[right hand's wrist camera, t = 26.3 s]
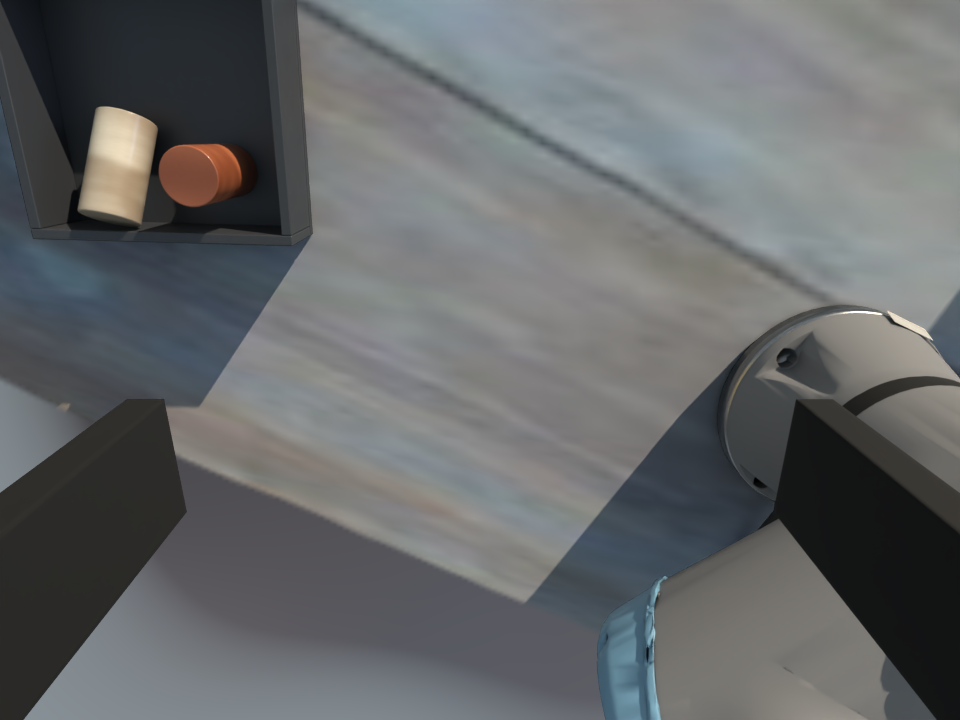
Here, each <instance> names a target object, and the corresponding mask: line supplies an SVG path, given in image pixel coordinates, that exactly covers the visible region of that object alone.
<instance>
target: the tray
mask: <svg viewBox="0 0 960 720" xmlns="http://www.w3.org/2000/svg"><path fill="white" fill-rule="evenodd" d="M0 99H1V103H2V107H3V112H4V116H5V120H6V125H7V129H8V133H9V137H10V142H11V146H12V150H13V155H14V159H15V163H16V167H17V172H18V176H19V180H20V185H21V189H22V193H23V198H24V202H25V206H26V210H27V215H28V219H29V223H30V227H31V228H32V229H31V232H32V236H33V239H55V240H92V241H129V242H165V243H202V244H239V245H276V246H293V245H294V244H296V243H298V242H300V241H301V240H303V239H305V238H306V237H308V236H310V235H312V234H313V232H312V217H311V203H310V189H309V175H308V160H307V146H306V132H305V118H304V103H303V89H302V75H301V60H300V46H299V32H298V18H297V3H296V0H0ZM98 107H113V108H119V109H123V110H126V111H129V112H132V113H135V114H137V115H140V116H142V117H144V118H146V119H148V120H150V121H151V122H153V123H154V124H155V125H156V126H157V128H158V133H157V138H156V144H155V150H154V156H153V161H152V167H151V173H150V179H149V184H148V190H147V196H146V201H145V207H144V213H143V219H142V224H141V226H140V227H128V226H121V225H116V224H111V223H107V222H103V221H99V220H96V219H93V218H90V217H87V216H85V215H82V214H81V213H79V212H78V204H79V198H80V193H81V187H82V182H83V176H84V171H85V165H86V159H87V154H88V148H89V143H90V137H91V132H92V126H93V120H94V115H95V110H96V108H98ZM195 144H234V145H237V146H239V147H241V148H243V149H244V150H246V151H247V152H248V153H249V154H250V155H251V157H252V158H253V160H254V162H255V165H256V168H257V181H256V184H255V186H254V187H253V189H252V190H251V191H250V192H249V193H248V194H246V195H244V196H241V197H237V198H233V199H229V200H225V201H221V202H217V203H212V204H208V205H204V206H200V207H187V206H184V205H181V204H179V203H178V202H176V201H174V200H173V199H172V198H171V197H170V196H169V195H168V194H167V193H166V191H165V190H164V188H163V187H162V184H161V182H160V178H159V164H160V161H161V158H162V157H163V155H164V154H165V153H166V152H167V151H168V150H169V149H171V148H172V147H175V146H178V145H195Z"/></svg>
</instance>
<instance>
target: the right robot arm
mask: <svg viewBox="0 0 960 720" xmlns="http://www.w3.org/2000/svg"><path fill="white" fill-rule="evenodd" d="M888 313H889V314H890V315H888V314H886V313H884V312H881V311H878V310H875V309H871V308H867V307H862V306H852V305H838V306H828V307H822V308H817V309H813V310H810V311H807V312H804V313H801V314H798V315H796V316H793V317H791V318H789V319H787V320H785V321H783V322H781V323H779V324H778V325H776V326H775V327H773V328H771V329H770V330H769V331H767V332H766V333H765V334H763V335H762V336H761V337H760V338H758V339H757V340H756V341H755V342H754V343H753V344H752V345H751V346H750V347H749V348H748V349H747V350H746V351H745V352H744V354H743V355H742V356H741V357H740V359H739V360H738V361H737V363H736V364H735V366H734V367H733V369H732V370H731V372H730V374H729V376H728V378H727V380H726V382H725V385H724V387H723V390H722V393H721V396H720V401H719V406H718V415H717V422H718V433H719V437H720V441H721V444H722V447H723V450H724V452H725V454H726V456H727V457H728V459H729V460H730V462H731V463H732V465H733V466H734V467H735V469H736V470H737V471H738V473H739V474H740V475H741V476H742V478H743V479H744V480H745V481H746V482H747V483H748V484H749V485H750V486H751V487H752V488H753V489H755V490H756V491H758V492H759V493H760V494H762V495H764V496H765V497H767V498H769V499H770V500H772V501H774V502H775V506H774V511H773V512H772V513H771V515H770V516H769V517H768V518H767V519H766V521H765V522H764V523H763V524H762V525H761V527H760V528H759V529H758V530H757V531H756V532H754V533H752V534H750V535H748V536H746V537H744V538H743V539H741V540H739V541H737V542H735V543H733V544H731V545H729V546H727V547H726V548H724V549H722V550H720V551H718V552H716V553H714V554H712V555H710V556H709V557H707V558H705V559H703V560H701V561H699V562H697V563H695V564H694V565H692V566H690V567H688V568H686V569H684V570H682V571H680V572H678V573H677V574H675V575H673V576H671V577H666V576H663V577H661V578H658V579H657V580H656V581H655V582H654V583H653V585H652V587H651V588H649V589H648V590H646V591H644V592H643V593H641V594H640V595H638V596H636V597H635V598H633V599H632V600H630V601H628V602H627V603H625V604H623V605H622V606H620V607H618V608H617V609H615V610H614V611H613V612H612V613H611V614H610V615H609V616H608V617H607V619H606V621H605V622H604V624H603V626H602V629H601V631H600V635H599V640H598V648H597V651H598V652H597V655H598V661H597V672H598V682H599V689H600V695H601V701H602V706H603V710H604V715H605V719H606V720H960V378H959V377H958V376H957V375H956V373H955V372H954V371H953V370H952V369H951V368H950V367H949V365H948V364H947V363H946V362H945V361H944V359H943V357H942V356H941V354H940V353H939V352H938V350H937V349H936V348H935V346H934V345H933V344H932V343H931V342H930V341H929V340H928V339H927V338H929V339H931V340H933V339H932V338H931V337H930V336H929V334H928V333H927V332H926V330H925V329H923V328H921V327H919V326H917V325H915V324H913V323H911V322H909V321H907V320H905V319H903V318H901V317H899V316H897V315H895V314H893V313H891V312H889V311H888ZM926 337H927V338H926ZM186 512H187V511H186V506H185V501H184V496H183V491H182V486H181V481H180V476H179V471H178V466H177V461H176V456H175V451H174V446H173V441H172V436H171V431H170V427H169V422H168V417H167V412H166V407H165V402H164V399H127V400H125V401H124V402H123V403H121V404H120V405H119V406H117V407H116V408H114V409H113V410H112V411H110V412H109V413H108V414H106V415H105V416H104V417H102V418H101V419H100V420H98V421H97V422H96V423H94V424H93V425H91V426H90V427H89V428H87V429H86V430H85V431H83V432H82V433H81V434H79V435H78V436H77V437H75V438H74V439H73V440H71V441H70V442H68V443H67V444H66V445H64V446H63V447H62V448H60V449H59V450H58V451H56V452H55V453H54V454H52V455H51V456H50V457H48V458H47V459H46V460H44V461H43V462H41V463H40V464H39V465H37V466H36V467H35V468H33V469H32V470H31V471H29V472H28V473H26V474H25V475H24V476H22V477H21V478H20V479H18V480H17V481H16V482H14V483H13V484H12V485H10V486H9V487H8V488H6V489H5V490H3V491H2V492H1V493H0V720H24V718H25V717H26V716H27V715H28V713H29V712H30V711H31V709H32V708H33V707H34V706H35V704H36V703H37V702H38V701H39V699H40V698H41V697H42V695H43V694H44V693H45V692H46V690H47V689H48V688H49V687H50V685H51V684H52V683H53V681H54V680H55V679H56V678H57V676H58V675H59V674H60V673H61V671H62V670H63V669H64V667H65V666H66V665H67V664H68V662H69V661H70V660H71V659H72V657H73V656H74V655H75V653H76V652H77V651H78V650H79V648H80V647H81V646H82V645H83V643H84V642H85V641H86V639H87V638H88V637H89V636H90V634H91V633H92V632H93V631H94V629H95V628H96V627H97V625H98V624H99V623H100V622H101V620H102V619H103V618H104V616H105V615H106V614H107V613H108V611H109V610H110V609H111V608H112V606H113V605H114V604H115V603H116V601H117V600H118V599H119V597H120V596H121V595H122V594H123V592H124V591H125V590H126V589H127V587H128V586H129V585H130V583H131V582H132V581H133V580H134V578H135V577H136V576H137V574H138V573H139V572H140V571H141V569H142V568H143V567H144V566H145V564H146V563H147V562H148V561H149V559H150V558H151V557H152V555H153V554H154V553H155V552H156V550H157V549H158V548H159V546H160V545H161V544H162V543H163V541H164V540H165V539H166V538H167V536H168V535H169V534H170V532H171V531H172V530H173V529H174V527H175V526H176V525H177V524H178V522H179V521H180V520H181V518H182V517H183V516H184V515H185V513H186Z"/></svg>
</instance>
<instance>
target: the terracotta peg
mask: <svg viewBox="0 0 960 720" xmlns="http://www.w3.org/2000/svg"><path fill="white" fill-rule="evenodd" d="M159 178H160V182H161V184H162V187H163V188H164V190H165V191H166V193H167V194H168V195H169V196H170V197H171V198H172V199H173V200H174V201H176V202H178V203H179V204H181V205H184V206H187V207H200V206H204V205H208V204H212V203H217V202H221V201H225V200H229V199H233V198H237V197H241V196H244V195H246V194H248V193H249V192H250V191H251V190H252V189H253V187H254V186H255V184H256V181H257V168H256V165H255V162H254V160H253V158H252V157H251V155H250V154H249V153H248V152H247V151H246V150H244V149H243V148H241V147H239V146H237V145H234V144H195V145H178V146H175V147H172V148H171V149H169V150H168V151H167V152H166V153H165V154H164V155H163V157H162V158H161V161H160V164H159Z"/></svg>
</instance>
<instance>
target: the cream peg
mask: <svg viewBox="0 0 960 720" xmlns="http://www.w3.org/2000/svg"><path fill="white" fill-rule="evenodd" d="M157 133H158V128H157V126H156V125H155V124H154V123H153V122H151V121H150V120H148V119H146V118H144V117H142V116H140V115H137V114H135V113H132V112H129V111H126V110H123V109H119V108H113V107H98V108H96V110H95V115H94V120H93V126H92V132H91V137H90V143H89V148H88V154H87V159H86V165H85V171H84V176H83V182H82V187H81V193H80V198H79V204H78V212H79V213H81V214H82V215H85V216H87V217H90V218H93V219H96V220H99V221H103V222H107V223H111V224H116V225H121V226H128V227H140V226H141V224H142V219H143V213H144V207H145V201H146V196H147V190H148V184H149V179H150V173H151V167H152V161H153V156H154V150H155V144H156V138H157Z"/></svg>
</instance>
